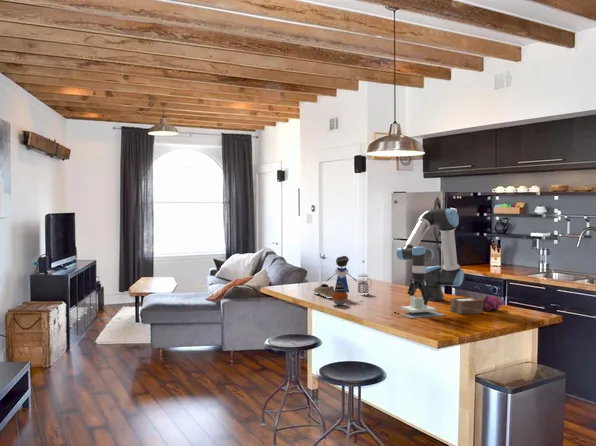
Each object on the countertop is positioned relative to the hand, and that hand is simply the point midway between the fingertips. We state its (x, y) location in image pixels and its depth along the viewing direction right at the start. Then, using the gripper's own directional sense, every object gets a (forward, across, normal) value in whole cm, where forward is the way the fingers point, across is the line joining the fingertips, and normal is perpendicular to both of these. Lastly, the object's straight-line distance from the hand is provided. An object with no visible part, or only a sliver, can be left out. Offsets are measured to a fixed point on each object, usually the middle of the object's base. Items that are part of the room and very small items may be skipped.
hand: (418, 308), depth 307 cm
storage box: (+3, +6, +30) cm, 31 cm away
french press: (+4, -75, +3) cm, 75 cm away
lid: (+1, 0, 0) cm, 1 cm away
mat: (+3, 0, 0) cm, 3 cm away
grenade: (+4, -42, -32) cm, 53 cm away
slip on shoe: (+4, -81, -27) cm, 85 cm away
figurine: (+4, -65, -20) cm, 68 cm away
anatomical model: (+4, +5, +49) cm, 49 cm away
